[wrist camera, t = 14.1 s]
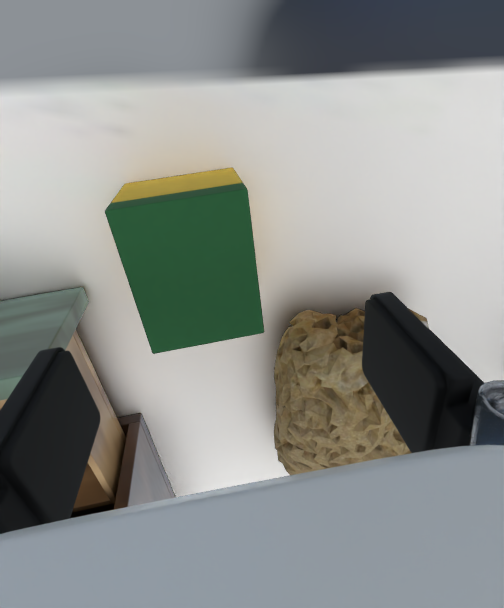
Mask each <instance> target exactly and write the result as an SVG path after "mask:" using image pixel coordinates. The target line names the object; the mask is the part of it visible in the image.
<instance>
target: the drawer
mask: <svg viewBox="0 0 504 608" xmlns="http://www.w3.org/2000/svg"><path fill="white" fill-rule="evenodd" d="M88 303H89V300H88V298H87V296H86V293H85V291H84V288H83V287H79V288H73V289H68V290H62V291H56V292H50V293H44V294H38V295H33V296H27V297H21V298H15V299H9V300H3V301H0V410H1V408H2V407H3V405H4V404H5V402H6V401H7V399H8V398H9V396H10V395H11V393H12V391H13V390H14V388H15V387H16V385H17V384H18V382H19V381H20V379H21V378H22V376H23V375H24V373H25V372H26V370H27V369H28V367H29V366H30V364H31V362H32V361H33V359H34V358H35V356H36V355H37V353H38V352H39V351H41V350H45V349H51V348H57V347H62V348H63V349H64V350H65V351H70V352H71V354H72V356H73V358H74V360H75V362H76V364H77V366H78V368H79V370H80V372H81V374H82V376H83V378H84V380H85V382H86V385H87V387H88V389H89V391H90V393H91V395H92V397H93V399H94V401H95V403H96V405H97V407H98V409H99V412H100V418H101V419H100V425H99V428H98V431H97V434H96V437H95V441H94V444H93V447H92V450H91V453H90V457H89V460H88V463H87V466H86V469H85V472H84V476H83V479H82V482H81V485H80V488H79V491H78V495H77V498H76V501H75V504H74V507H73V510H72V512H76V511H81V510H85V509H90V508H94V507H99V506H103V505H108V504H111V503H115V499H116V494H117V488H118V483H119V477H120V471H121V466H122V460H123V455H124V449H125V443H126V436H125V434H124V432H123V430H122V428H121V426H120V423H119V421H118V419H117V417H116V415H115V413H114V411H113V408H112V406H111V404H110V402H109V400H108V398H107V395H106V393H105V391H104V389H103V387H102V385H101V383H100V380H99V378H98V376H97V374H96V372H95V370H94V367H93V365H92V363H91V361H90V359H89V357H88V355H87V352H86V350H85V348H84V346H83V344H82V342H81V339H80V337H79V335H78V333H77V331H76V328H77V325H78V323H79V321H80V319H81V317H82V315H83V313H84V311H85V309H86V307H87V305H88Z"/></svg>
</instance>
